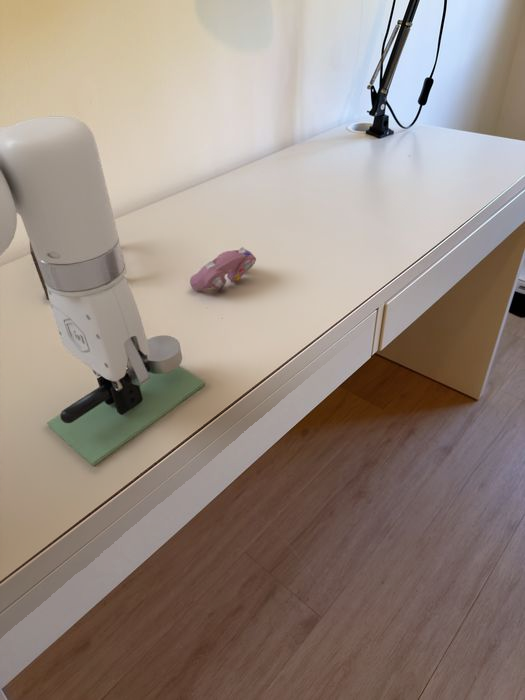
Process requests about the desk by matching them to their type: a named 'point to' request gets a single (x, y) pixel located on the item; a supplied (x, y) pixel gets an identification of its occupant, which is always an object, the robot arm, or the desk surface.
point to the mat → (126, 416)
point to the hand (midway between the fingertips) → (124, 401)
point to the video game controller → (223, 269)
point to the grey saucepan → (161, 361)
